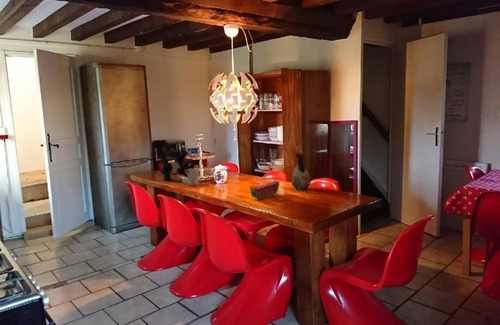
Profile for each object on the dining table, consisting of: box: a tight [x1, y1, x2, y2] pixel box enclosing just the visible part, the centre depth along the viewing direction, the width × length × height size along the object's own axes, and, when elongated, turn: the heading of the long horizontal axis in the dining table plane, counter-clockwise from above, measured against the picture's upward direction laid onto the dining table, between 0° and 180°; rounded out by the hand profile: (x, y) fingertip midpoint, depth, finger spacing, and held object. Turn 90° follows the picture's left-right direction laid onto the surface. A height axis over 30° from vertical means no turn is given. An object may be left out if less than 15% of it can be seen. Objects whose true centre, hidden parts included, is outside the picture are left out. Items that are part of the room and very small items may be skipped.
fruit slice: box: [249, 180, 280, 200], centre depth 273 cm, size 26×6×10 cm, turn 134°
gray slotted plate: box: [188, 168, 198, 186], centre depth 324 cm, size 6×3×13 cm, turn 145°
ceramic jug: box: [290, 152, 312, 192], centre depth 288 cm, size 17×15×30 cm
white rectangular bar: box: [181, 177, 200, 186], centre depth 327 cm, size 18×2×4 cm, turn 55°
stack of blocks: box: [168, 159, 188, 175], centre depth 377 cm, size 21×6×12 cm, turn 139°
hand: (191, 175), depth 325 cm, fingers open, 9 cm apart
